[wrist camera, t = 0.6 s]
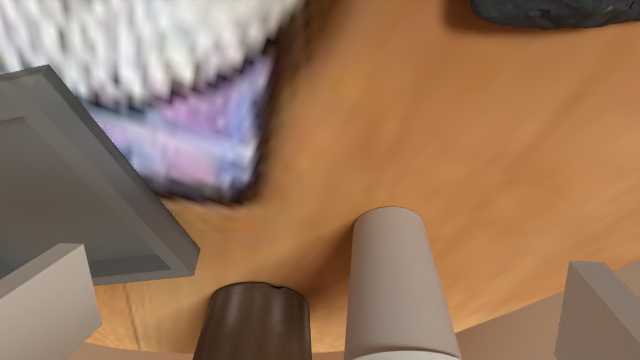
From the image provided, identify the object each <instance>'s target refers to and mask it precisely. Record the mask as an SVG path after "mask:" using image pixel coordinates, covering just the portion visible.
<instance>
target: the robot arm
mask: <svg viewBox="0 0 640 360" xmlns="http://www.w3.org/2000/svg"><path fill="white" fill-rule="evenodd" d="M101 325H102V321H101V317H100V313H99V308H98V304H97V300H96V296H95V291H94V287H93V283H92V278H91V274H90V270H89V266H88V261H87V257H86V253H85V249H84V244H71V243H59V244H58V245H56V246H54V247H53V248H51V249H49V250H48V251H46V252H45V253H43V254H41V255H40V256H38V257H37V258H35V259H33V260H32V261H30V262H28V263H27V264H25V265H24V266H22V267H20V268H19V269H17V270H15V271H14V272H12V273H11V274H9V275H7V276H6V277H4V278H2V279H1V280H0V360H66V359H68V357H70V355H71V354H73V352H74V351H76V350H77V349H78V348H79V347H80V346H81V344H83V343H84V342H85V341H86V340H87V339H88V338H89V337H90V336H91V335H92V334H93V333H94V332H95V331H96V330H97V329H98V328H99V327H100V326H101ZM555 356H556V358H557V359H558V360H640V298H639V297H638V296H637V295H636V294H635V293H634V292H633V291H632V290H631V289H630V288H629V287H628V286H627V285H626V284H625V283H624V282H623V281H622V280H621V279H620V278H619V277H618V276H617V275H616V274H615V273H614V272H613V271H612V270H611V269H610V268H609V267H608V266H607V265H606V264H605V263H604V262H590V261H569V267H568V273H567V279H566V285H565V291H564V297H563V304H562V310H561V316H560V322H559V328H558V334H557V341H556V347H555Z"/></svg>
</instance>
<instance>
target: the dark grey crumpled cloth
mask: <svg viewBox="0 0 640 360" xmlns="http://www.w3.org/2000/svg"><path fill="white" fill-rule="evenodd" d="M471 8H472V11H473V13H474V14H476V15H477V16H479V17H480V18H482V19H484V20H486V21H489V22H491V23H493V24H498V25H508V26H512V27H514V28H540V29H544V30H546V29H560V28H580V27H581V28H593V27H602V26H606V25H609V24H616V23H622V22H627V21H631V20H634V21H640V0H471Z"/></svg>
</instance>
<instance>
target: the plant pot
mask: <svg viewBox="0 0 640 360" xmlns="http://www.w3.org/2000/svg"><path fill="white" fill-rule="evenodd" d="M193 360H312V352H311V333H310V310H309V305H308V303H307V301H306V300H305V299H304V298H303V297H302V296H301V295H300V294H298V293H297V292H295V291H293V290H291V289H289V288H286V287H282V288H280V289H276V288H274V287H271V286H270V285H269V284H268V283H261V282H251V283H239V284H234V285H230V286H226V287H224V288H222V289H220V290H218V291H217V292H215V293H214V295H213V297H212V299H211V301H210V302H209V306H208V310H207V313H206V316H205V320H204V323H203V327H202V330H201V333H200V337H199V340H198V343H197V347H196V350H195V353H194V357H193Z"/></svg>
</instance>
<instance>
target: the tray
mask: <svg viewBox="0 0 640 360" xmlns="http://www.w3.org/2000/svg"><path fill="white" fill-rule="evenodd" d="M59 243H71V244H84V249H85V253H86V257H87V261H88V266H89V270H90V274H91V278H92V283H93V286H98V285H108V284H118V283H128V282H138V281H148V280H158V279H168V278H178V277H188V276H194V273H195V269H196V265H197V261H198V257H199V253H200V248H199V247H198V246H197V245H196V243H195V242H194V241H193V240H192V238H191V237H190V236H189V235H188V234H187V232H186V231H185V230H184V229H183V227H182V226H181V225H180V224H179V223H178V221H177V220H176V219H175V218H174V217H173V215H172V214H171V213H170V212H169V210H168V209H167V208H166V207H165V206H164V204H163V203H162V202H161V201H160V199H159V198H158V197H157V196H156V195H155V193H154V192H153V191H152V190H151V189H150V187H149V186H148V185H147V184H146V182H145V181H144V180H143V179H142V178H141V176H140V175H139V174H138V173H137V171H136V170H135V169H134V168H133V167H132V165H131V164H130V163H129V162H128V161H127V159H126V158H125V157H124V156H123V154H122V153H121V152H120V151H119V150H118V148H117V147H116V146H115V145H114V143H113V142H112V141H111V140H110V139H109V137H108V136H107V135H106V134H105V132H104V131H103V130H102V129H101V128H100V126H99V125H98V124H97V123H96V122H95V120H94V119H93V118H92V117H91V115H90V114H89V113H88V112H87V111H86V109H85V108H84V107H83V106H82V104H81V103H80V102H79V101H78V100H77V98H76V97H75V96H74V95H73V94H72V92H71V91H70V90H69V89H68V87H67V86H66V85H65V84H64V83H63V81H62V80H61V79H60V78H59V76H58V75H57V74H56V73H55V72H54V70H53V69H52V68H51V67H50V66H49V64H48V65H43V66H39V67H34V68H30V69H25V70H21V71H16V72H12V73H7V74H3V75H0V280H1V279H2V278H4V277H6V276H7V275H9V274H11V273H12V272H14V271H15V270H17V269H19V268H20V267H22V266H24V265H25V264H27V263H28V262H30V261H32V260H33V259H35V258H37V257H38V256H40V255H41V254H43V253H45V252H46V251H48V250H49V249H51V248H53V247H54V246H56V245H58V244H59Z"/></svg>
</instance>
